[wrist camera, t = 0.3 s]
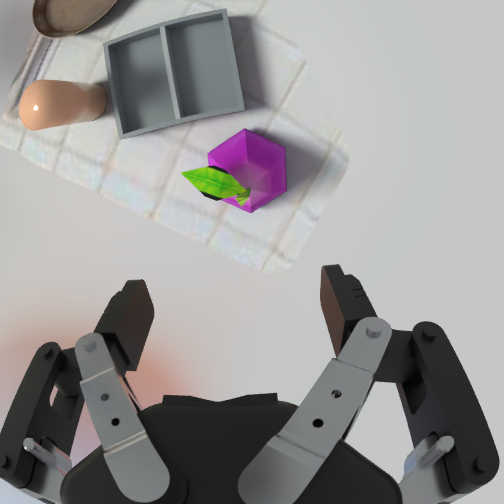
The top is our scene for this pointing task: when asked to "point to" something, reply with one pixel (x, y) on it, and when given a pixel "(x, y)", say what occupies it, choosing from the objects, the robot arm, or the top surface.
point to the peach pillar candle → (60, 103)
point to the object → (67, 16)
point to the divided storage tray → (173, 73)
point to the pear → (243, 171)
